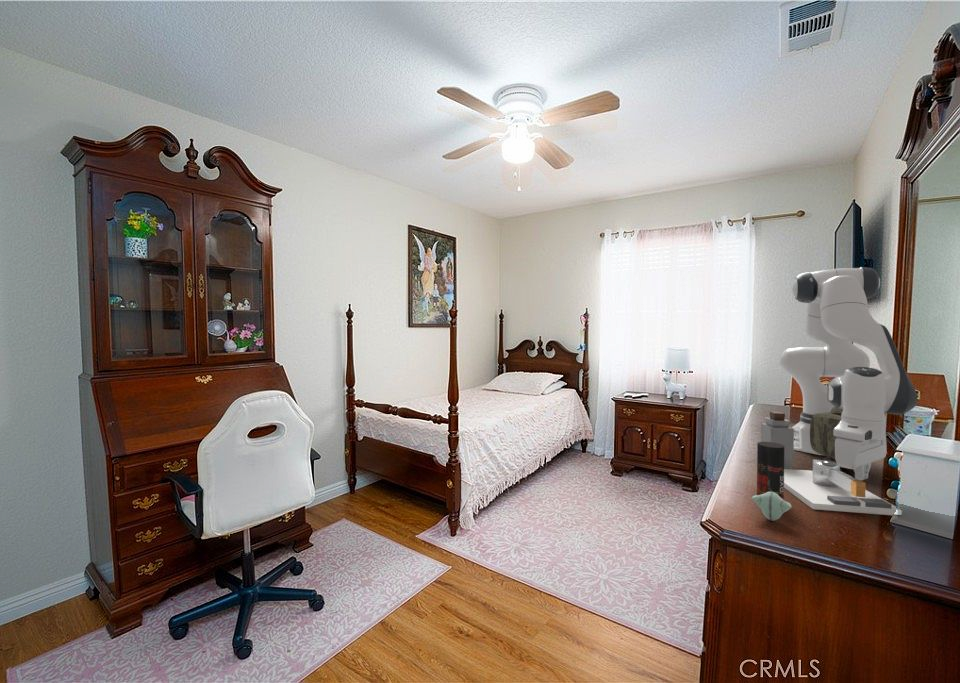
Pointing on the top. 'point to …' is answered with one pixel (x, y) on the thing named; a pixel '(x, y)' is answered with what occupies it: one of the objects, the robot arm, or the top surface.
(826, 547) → the top surface
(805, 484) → the stand
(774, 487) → the deodorant
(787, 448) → the perfume bottle
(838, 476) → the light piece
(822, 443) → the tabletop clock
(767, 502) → the mint green pointed piece
